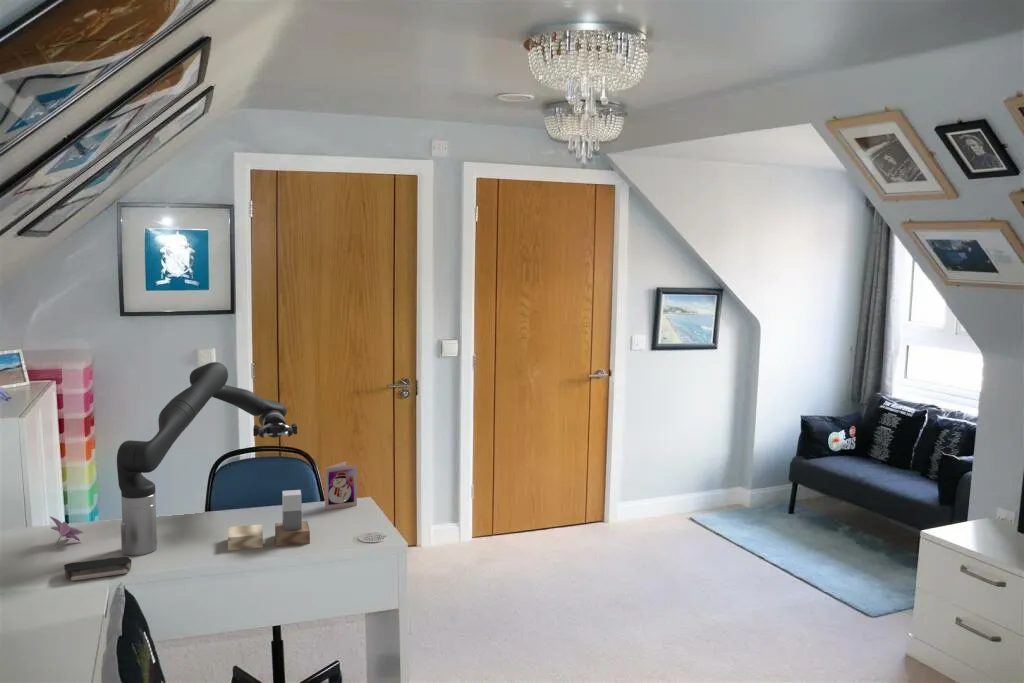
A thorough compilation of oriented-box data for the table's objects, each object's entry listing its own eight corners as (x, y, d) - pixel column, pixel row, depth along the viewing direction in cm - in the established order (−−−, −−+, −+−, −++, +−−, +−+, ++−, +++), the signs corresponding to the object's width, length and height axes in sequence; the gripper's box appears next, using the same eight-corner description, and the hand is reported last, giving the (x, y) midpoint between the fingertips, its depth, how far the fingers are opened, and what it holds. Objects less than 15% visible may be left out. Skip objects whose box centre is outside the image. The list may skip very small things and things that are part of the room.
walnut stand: (276, 546, 246) (276, 533, 246) (275, 535, 256) (275, 523, 256) (309, 543, 250) (309, 530, 249) (307, 532, 259) (307, 520, 259)
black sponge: (64, 585, 215) (63, 571, 215) (66, 573, 223) (65, 561, 222) (131, 576, 222) (131, 563, 222) (131, 565, 230) (130, 553, 230)
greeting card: (325, 510, 283) (325, 468, 281) (320, 504, 289) (320, 463, 288) (357, 506, 288) (357, 465, 287) (351, 500, 295) (351, 460, 293)
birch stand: (227, 550, 242) (227, 537, 242) (228, 539, 251) (228, 527, 251) (262, 547, 245) (262, 534, 245) (262, 536, 255) (261, 524, 254)
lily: (84, 551, 242) (93, 522, 245) (45, 544, 235) (55, 514, 238) (71, 553, 249) (80, 525, 253) (34, 547, 242) (43, 517, 246)
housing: (283, 530, 249) (283, 495, 248) (282, 524, 254) (282, 490, 253) (301, 528, 251) (301, 494, 250) (300, 523, 256) (300, 489, 255)
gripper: (252, 414, 278) (253, 424, 263) (295, 413, 283) (298, 422, 267) (253, 436, 279) (253, 446, 264) (295, 434, 283) (298, 444, 268)
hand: (276, 434), depth 266 cm, fingers open, 8 cm apart
